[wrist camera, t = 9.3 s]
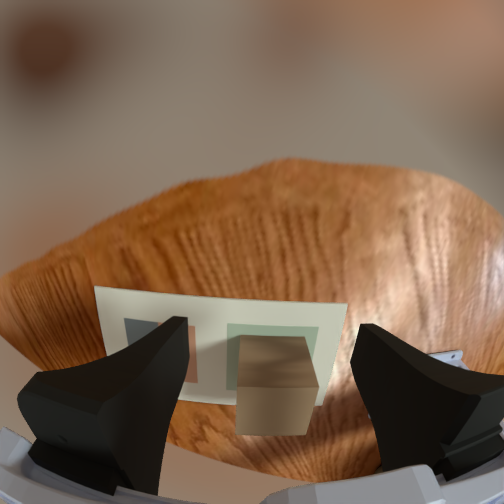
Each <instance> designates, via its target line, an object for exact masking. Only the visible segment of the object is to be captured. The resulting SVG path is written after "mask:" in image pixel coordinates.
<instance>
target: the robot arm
mask: <svg viewBox="0 0 504 504" xmlns="http://www.w3.org/2000/svg"><path fill="white" fill-rule="evenodd" d="M462 354H463V352H462V351H461V350H455V351H449V352H442V353H435V354H428V355H427V354H425V353H423V352H421V351H420V350H418V349H416V348H414V347H412V346H411V345H409V344H407V343H406V342H404V341H402V340H401V339H399V338H397V337H396V336H394V335H393V334H391V333H389V332H388V331H386V330H384V329H383V328H381V327H379V326H377V325H375V324H360V327H359V331H358V335H357V339H356V343H355V346H354V350H353V354H352V357H351V361H350V364H351V368H352V372H353V376H354V380H355V382H356V385H357V387H358V390H359V392H360V394H361V397H362V399H363V401H364V404H365V406H366V408H367V411H368V417H369V418H370V419H371V421H372V424H373V427H374V430H375V434H376V438H377V442H378V447H379V452H380V457H381V463H382V470H383V473H379V474H374V475H369V476H364V477H358V478H352V479H346V480H339V481H331V482H322V483H313V484H307V485H302V486H296V487H289V488H286V489H283V490H281V491H278V492H275V493H272V494H270V495H269V496H267V497H266V498H265V499H264V500H263V501H262V502H261V503H260V504H504V422H503V421H502V419H503V418H504V375H494V374H486V373H480V372H475V371H471V370H469V369H468V367H467V366H466V365H465V364H464V363H463V362H462V361H461V360H460V359H461V357H462ZM189 359H190V352H189V334H188V317H182V316H172V317H171V318H169V319H168V320H166V321H165V322H164V323H162V324H161V325H160V326H158V327H157V328H155V329H154V330H153V331H151V332H150V333H148V334H147V335H145V336H144V337H142V338H141V339H139V340H137V341H136V342H134V343H132V344H131V345H129V346H127V347H126V348H124V349H122V350H120V351H118V352H116V353H113V354H111V355H109V356H107V357H104V358H101V359H98V360H95V361H93V362H90V363H87V364H83V365H79V366H75V367H71V368H66V369H60V370H52V371H43V372H37V373H36V374H35V375H34V376H33V377H32V378H31V379H30V381H29V382H28V383H27V384H26V385H25V386H24V388H23V389H22V390H21V391H20V393H19V394H18V397H17V401H18V406H19V409H20V411H21V413H22V415H23V417H24V418H25V420H26V422H27V424H28V425H29V427H30V429H31V430H32V432H33V433H34V435H35V436H36V438H37V439H36V440H35V442H34V444H32V443H31V442H30V441H28V440H27V439H26V438H24V437H23V436H20V435H19V434H17V433H15V432H14V431H12V430H10V429H8V428H7V427H3V428H2V429H1V430H0V498H1V499H2V500H3V501H4V502H6V503H7V504H205V503H196V502H188V501H183V500H176V499H171V498H165V497H160V496H158V487H159V479H160V472H161V464H162V459H163V454H164V448H165V443H166V438H167V433H168V428H169V424H170V421H171V417H172V414H173V411H174V409H175V406H176V403H177V400H178V397H179V395H180V392H181V389H182V386H183V383H184V381H185V378H186V374H187V369H188V364H189Z"/></svg>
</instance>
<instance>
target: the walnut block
mask: <svg viewBox="0 0 504 504" xmlns="http://www.w3.org/2000/svg"><path fill="white" fill-rule="evenodd" d="M318 390H319V384H318V381H317V377H316V373H315V370H314V366H313V363H312V359H311V356H310V352H309V349H308V346H307V342H306V339H305V336H261V335H240V348H239V363H238V377H237V398H236V430H235V435H254V436H291V435H306V433H307V429H308V426H309V423H310V419H311V416H312V412H313V409H314V405H315V402H316V398H317V394H318Z"/></svg>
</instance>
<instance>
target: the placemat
mask: <svg viewBox="0 0 504 504" xmlns="http://www.w3.org/2000/svg"><path fill="white" fill-rule="evenodd" d="M94 290H95V297H96V303H97V309H98V315H99V320H100V325H101V330H102V335H103V340H104V345H105V349H106V353H107V356H109V355H111V354H113V353H116V352H118V351H120V350H122V349H124V348H126V347H127V346H129V345H131V344H132V343H134V342H136V341H137V340H139V339H141V338H142V337H144V336H145V335H147V334H148V333H150V332H151V331H153V330H154V329H155V328H157V327H158V326H160V325H161V324H162V323H164V322H165V321H166V320H168V319H169V318H171V317H172V316H182V317H188V334H189V352H190V359H189V364H188V369H187V374H186V378H185V381H184V383H183V386H182V389H181V392H180V395H179V397H178V399H179V400H187V401H195V402H204V403H215V404H227V405H236V398H237V377H238V363H239V348H240V335H261V336H305V339H306V342H307V346H308V349H309V352H310V356H311V359H312V363H313V366H314V370H315V373H316V377H317V381H318V384H319V390H318V394H317V398H316V402H315V405H314V406H322V404H323V400H324V397H325V394H326V390H327V387H328V383H329V380H330V376H331V373H332V369H333V365H334V361H335V358H336V354H337V350H338V346H339V341H340V337H341V333H342V329H343V324H344V320H345V315H346V310H347V306H348V304H347V303H327V302H294V301H271V300H251V299H234V298H219V297H205V296H192V295H180V294H169V293H158V292H148V291H138V290H128V289H119V288H111V287H102V286H94Z"/></svg>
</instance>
